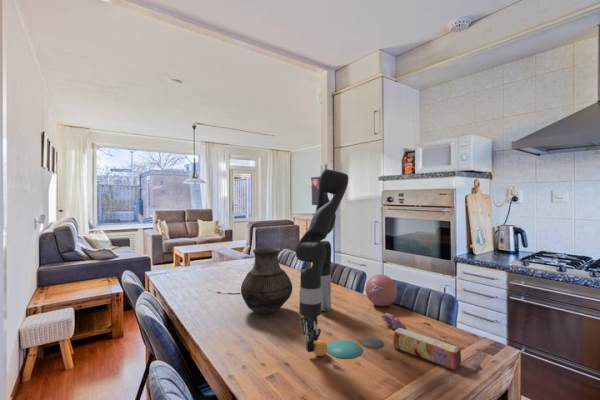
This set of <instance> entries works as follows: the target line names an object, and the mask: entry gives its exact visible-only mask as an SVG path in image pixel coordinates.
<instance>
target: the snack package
mask: <svg viewBox="0 0 600 400" xmlns="http://www.w3.org/2000/svg"><path fill="white" fill-rule="evenodd" d="M392 340H393V342H392V345H393V348H394V349H397V350H399V351H402V352H404V353H407V354H410V355H414V356H416V357H419V358H421V359H424V360H427V361H428V362H433V363H435V364H437V365H440V366H442V367H445V368H447V369H449V370H452V371H457V370H458V368H459V367H460V366H461V363H462V353H461V349H460V348H459V347H458V346H456V345H453V344H449V343H447V342H444V341H441V340H437V339H435V338H432V337H429V336H425V335H422V334H419V333H417V332H413V331H410V330H407V329H406V330H405V329H402V328H398V329H396V330H394V333H393V339H392Z"/></svg>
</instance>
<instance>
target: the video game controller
mask: <svg viewBox="0 0 600 400" xmlns="http://www.w3.org/2000/svg"><path fill="white" fill-rule="evenodd" d="M381 318H382V321H383V322H385V323H386V324H387V325H388V327H389V328H392V329H393V330H394V331H396V330H397V329H398V328H402V329H405V330H407V327H406V325H405V324H403V323H402V322H401V321H400V320H399V319H398V318H397V317H396V316H395V315H394V314H391V313H388V312H386V313H384V314H383V315H382V316H381Z"/></svg>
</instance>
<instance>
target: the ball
mask: <svg viewBox="0 0 600 400" xmlns="http://www.w3.org/2000/svg"><path fill="white" fill-rule="evenodd" d="M327 344H328V343H327V342H326V341H324V340H321V339H317V341H314V351H313V353H314V354H315V355H316V356H318V357H323V356H325V355H326V354H327V353H328V352H327Z"/></svg>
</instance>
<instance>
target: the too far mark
mask: <svg viewBox="0 0 600 400" xmlns="http://www.w3.org/2000/svg"><path fill="white" fill-rule="evenodd" d="M361 345H362V346H364V347H366V348H369V349H380V348H382V347H383V346H384V345H385V344H384V342H383V341H382V340H381V339H379V338H377V337H376V338H375V337H365V338H363V339H362V340H361Z"/></svg>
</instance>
